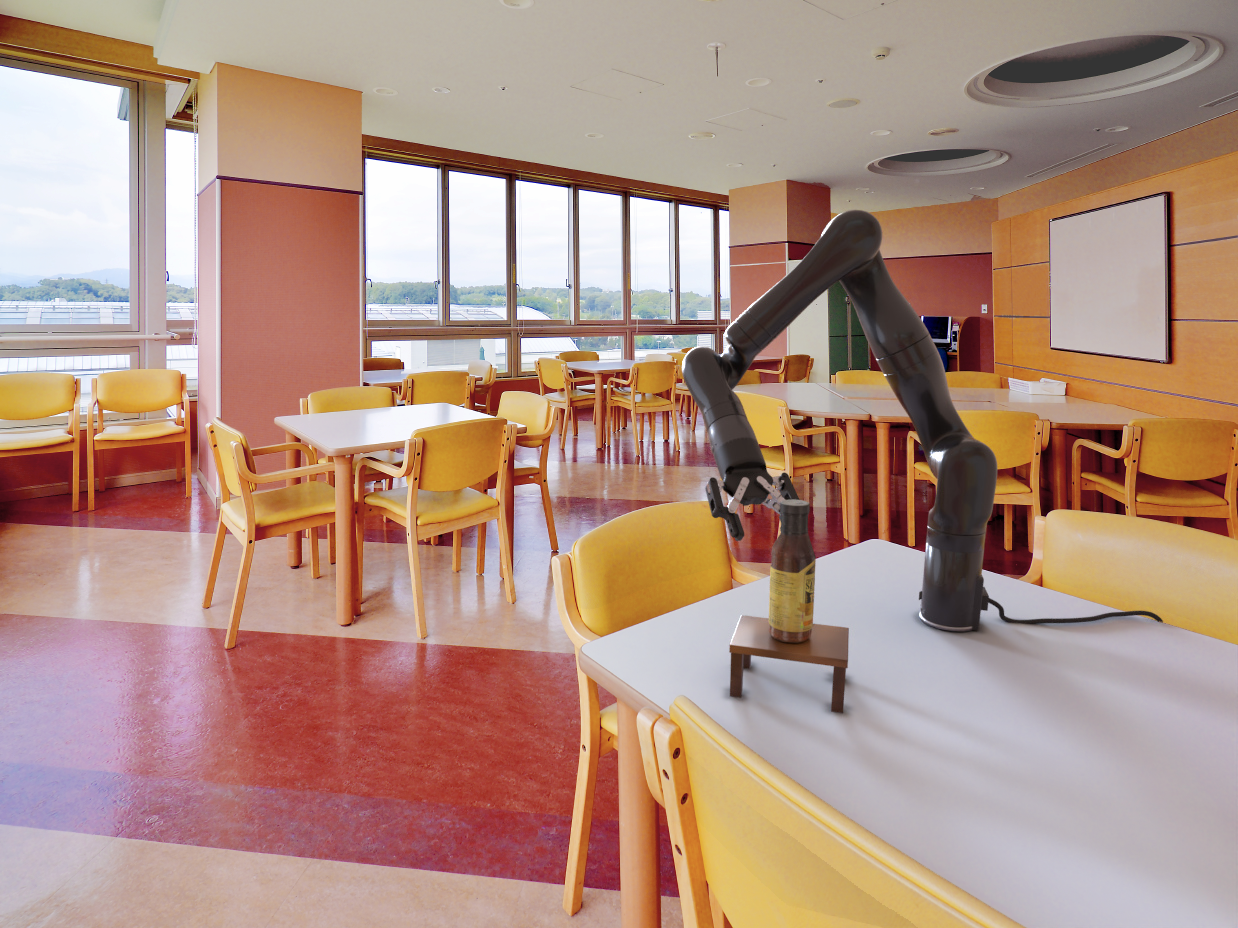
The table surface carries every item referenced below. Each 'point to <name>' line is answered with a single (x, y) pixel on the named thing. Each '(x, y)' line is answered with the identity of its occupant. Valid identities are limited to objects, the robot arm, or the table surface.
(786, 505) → the sauce bottle
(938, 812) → the table surface
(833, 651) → the small brown wooden table
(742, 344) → the robot arm
